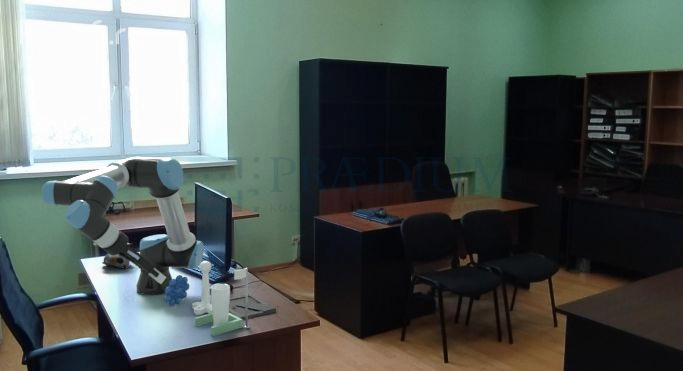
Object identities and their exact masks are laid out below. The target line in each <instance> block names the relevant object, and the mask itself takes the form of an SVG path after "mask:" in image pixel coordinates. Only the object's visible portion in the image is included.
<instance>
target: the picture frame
mask: <svg viewBox="0 0 683 371" xmlns="http://www.w3.org/2000/svg"><path fill="white" fill-rule="evenodd" d="M276 312H277V308H276V307H275V306H273V305H271V304H270V303H266V302H265V301H264V300H262V299H260V298H259V297H257V296H256V295H254V294H253V293H248V319H251V318H255V317H259V316H265V315H269V314H272V313H276ZM229 313H231V314H233V315H235V316H237V317H239V318H241V319H242V320H245V294H244V295H239V296H233V297H230V304H229Z"/></svg>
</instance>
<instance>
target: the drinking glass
mask: <svg viewBox="0 0 683 371" xmlns="http://www.w3.org/2000/svg"><path fill="white" fill-rule="evenodd" d="M230 298H231V287H230V284H226V283H216V284H213V285H212V286H211V287H210V304H212V313H213V322H212V325H213V326H216V325H220V324H223V323H227V322H228V317H229V304H230ZM213 326H212V327H213Z"/></svg>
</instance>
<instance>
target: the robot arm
mask: <svg viewBox="0 0 683 371" xmlns="http://www.w3.org/2000/svg"><path fill="white" fill-rule="evenodd" d="M183 183H184V170H183V167H182V164H181V163H180V162H179V161H178V160H177V159H175V158H172V157H171V158H170V157H167V156H166V157H163V156H162V157H153V156H152V157H150V156H133V157H128V158H124V159H121V160H117V161H114V162H111V163H109V164H107V166H106V167H104V168H101V169H97V170H94V171H91V172H88V173H85V174H81V175H78V176H75V177H72V178H68V179H65V180H61V181H60V180H49V181H46V182H45V183H44V184H43V186H42V188H41V198H42V200H43V202H44V203H45V204H47V205H52V206H66V207H68V208H67V209H66V211H65V213H64V219H65V221H66V222H67V223H68V224H70V225H71V226H72V227H73V228H74V229H75V230H77V231H78V232H80V233H81V234H83V235H84V236H85V237H86V238H88V239H89V240H91V241H92V242H93V246H98V247H100V248H101V249H102V250H103V251H104V252H106V253H107V254H110V255H112V256H114V255H117V254H119V255H120V256H122V257H124V258H125V259H127V260H129V261H130V262H131V263H132V264H133V265H134V266H136V267H138V269H139V270H140V274H139V277H138V281H137V284H136V291H137V293H139V294H141V295H146V296H151V295H152V296H153V295H155V296H156V295H157V296H158V295H163V294H165V289H166V287H168V286H170V285H169V282H170V280H172V279H173V277H172V274H171V271H170V268H177V269H178V268H179V269H188V270H189V269H193V270H194V269H197V268H198V267H199V266H200V264H201V262H203V261H202V260H203V257H204V251H205V248H204V243H203V241H201V240H197V239H196V235H195V234H194V233H192V232H190V228H189V224H188V221H187V218H186V214H185V211H184V208H183V204H182V201H181V200H182V199H181V197H180V194H179V191H180V190H181V187H182V186H183ZM124 187H125V188H126V187H127V188H129V187H130V188H141V189H143V188H144V189H148V191H149V195H150V196H151V197H152V198H154V199H156V202H157V205H158V209H159V212H160V216H161V218H162V221H163V224H164V225H163V226H164V227H165V230H166V234H165V233H163V234H153V235H149V236H146V237H143V238H142V239H140V242H139V252H138V251H136V249H135V248H134V246H133V247H132V246H129V245H128V244H127V243H129V241H130V240H129V236H127V235H126V234H125V233H124V232H123V231H122V230H120V229H119V227H117V226H116V225H115V224H113V223H112V222H111V221H109V219H107V218H106V217H105V215H106V213H107V211H108V210H109V207H110V206H111V204H112V202H113V201H114V199H115V198H116V195H117V192H118V190H119V189H121V188H124Z"/></svg>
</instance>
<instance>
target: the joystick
mask: <svg viewBox="0 0 683 371" xmlns="http://www.w3.org/2000/svg"><path fill="white" fill-rule="evenodd" d="M198 267H199V270H200V271H201V273H202V275H201V276H202V278H201V279H202V280H201V301H196V302H192V303H191V305H192V306H191V309H192V310H193V313H194V314H195V315H196V316H203V315H204V314H206V313H207V314H210V313H212V304H211V288H210V278H209V273H210V271H211V269H212V263H211V262H210V261H208V260H203V261H201V263H200V265H199V266H198Z"/></svg>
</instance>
